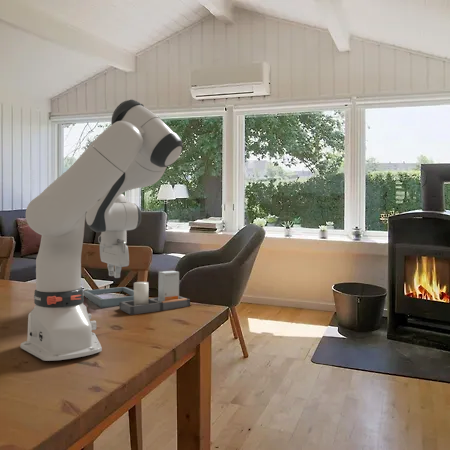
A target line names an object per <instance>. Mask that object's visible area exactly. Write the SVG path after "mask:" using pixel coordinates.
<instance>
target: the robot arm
mask: <svg viewBox="0 0 450 450" xmlns="http://www.w3.org/2000/svg"><path fill="white" fill-rule="evenodd" d="M111 115H112V116H111V120H110V123H111V125H109V126H108V127H107V128H106V129H105V130H104V131H103V132H101V133H100V134H99V135H98V136H97V137H96V138H95V139H94V140H93V141H92V142H91V144H90V145H88V147H87V148H86V149H85V150H84V151H83V152H82V154H80V156H79V157H78V158H77V159H76V160H75V162H73V164H71V166H70V167H69V168H68V169H66V171H64V172H63V173H62V174H61V175H59V177H57V178H56V179H55V180H54V181H53V182H52V183H50V184H49V185H48V186H47V187H46V188H45V189H44V190H43V191H41V193H39V195H37V196H35V197H34V198H33V199H32V200H31V201H30V202H29V203H28V204H27V207H26V210H25V219H26V220H25V221H26V223H27V225H28V227H29V228H30V230H32V231H34V232H35V233H37V234H38V235H40V236H41V238H40V244H39V249H38V253H37V255H36V259H35V280H36V281H35V284H36V285H35V288H36V289H35V290H34V292H33V293H34V294H33V299H34V300H33V301H34V302H33V303H34V304H35V305H34V307H33V308H32V310H31V311H30V312H29V313H28V315H27V318H28V319H27V338H26V341H23V342H21V343H20V349H21V350H24V351H26V352H27V353H29V354H31V355H33V356H34V357H36V358H38V359H40V360H41V361H47V362H48V361H49V362H50V361H54V362H55V361H62V360H71V359H77V358H81V357H82V358H83V357H86V356H90V355H94V354H97V353H100V352H102V351H103V350H102V348H103V347H102V345H101V343H100V341H99V339H98V337H97V334H96V333H95V332H92V331H93V330H94V331H95V330H97V326H98V325H97V321H96V320H91V319H92V313H89V312H88V310H87V307H88V306H86V305H85V304H84V302H85V299H84V298H85V297H84V293H83V291H84V288H83V287H82V251H83V245H84V244H83V243H84V235H85V223H86V225H87V226H88V228H90V230H92V231H93V232H95V233H100V235H99V236H98V241H97V242H98V244H99V258H100V261H101V262H102V263H106V264H107V270H108V276H109V277H113V278H115V279H120V278H121V271H122V268H124V267H126V268H127V267H128V266H129V265H130V253H129V247H128V245H127V243H128V242H127V239H128V238H127V237H128V236H127V235H128V234H127V232H128V231H133V230H135V229H137V228H138V227H139V226H140V224H141V223H142V210H141V208H140V207H139V206H138V205H137V204H136V203H132V202H131V201H129V200H127V199H126V196H125V194H124V193H126V192H128V191H131V190H136V189H139V188H145V187H146V188H147V187H150V186H153V185H154V184H156V183H157V182H158V181H160V179H161V178H163V175H164V174H165V172H166V169H167V167H170V166H172V165H173V164H174V163H175V162H176V161H177V160H178V159H179V157H180V156H181V154H182V152H183V148H184V147H183V146H184V145H183V140H182V139H181V137H180V135H178V134H177V132H175V131H173V130H172V129H171V127H169V126H168V125H167V124H166V123H165V122H164V121H163V120H162V118H160V117H159V116H158V115H157V114H156V113H154V112H153V111H151V110H150V109H148V108H147V107H145V106H144V104H143V103H141V102H140V101H137V100H135V99H127V100H125V101H122V102H120V103H119V104H118V105H117V106H116V108H115V109H114V111H113V113H112V114H111Z"/></svg>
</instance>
